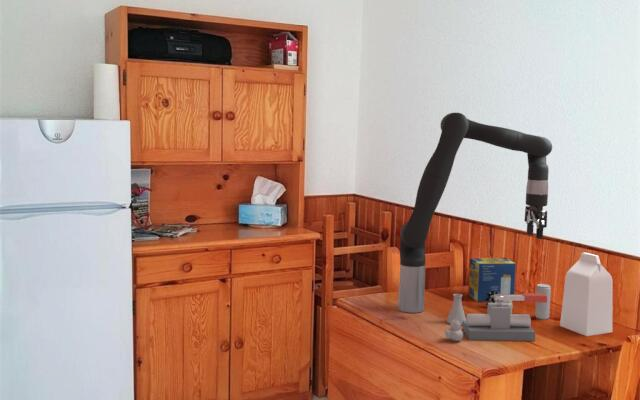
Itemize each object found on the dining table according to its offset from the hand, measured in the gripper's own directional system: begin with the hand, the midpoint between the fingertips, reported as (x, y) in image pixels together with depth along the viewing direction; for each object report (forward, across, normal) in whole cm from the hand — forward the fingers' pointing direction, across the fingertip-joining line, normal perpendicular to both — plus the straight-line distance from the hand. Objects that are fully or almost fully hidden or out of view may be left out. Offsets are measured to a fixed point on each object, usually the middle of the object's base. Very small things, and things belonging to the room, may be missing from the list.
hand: (534, 236), depth 238 cm
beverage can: (+29, +6, +2) cm, 30 cm away
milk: (+29, +20, +12) cm, 37 cm away
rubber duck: (+29, +29, -37) cm, 56 cm away
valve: (+29, -2, -10) cm, 31 cm away
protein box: (+29, -20, -8) cm, 36 cm away
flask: (+29, +10, -31) cm, 44 cm away
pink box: (+17, +25, -14) cm, 34 cm away
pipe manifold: (+29, +24, -21) cm, 43 cm away
